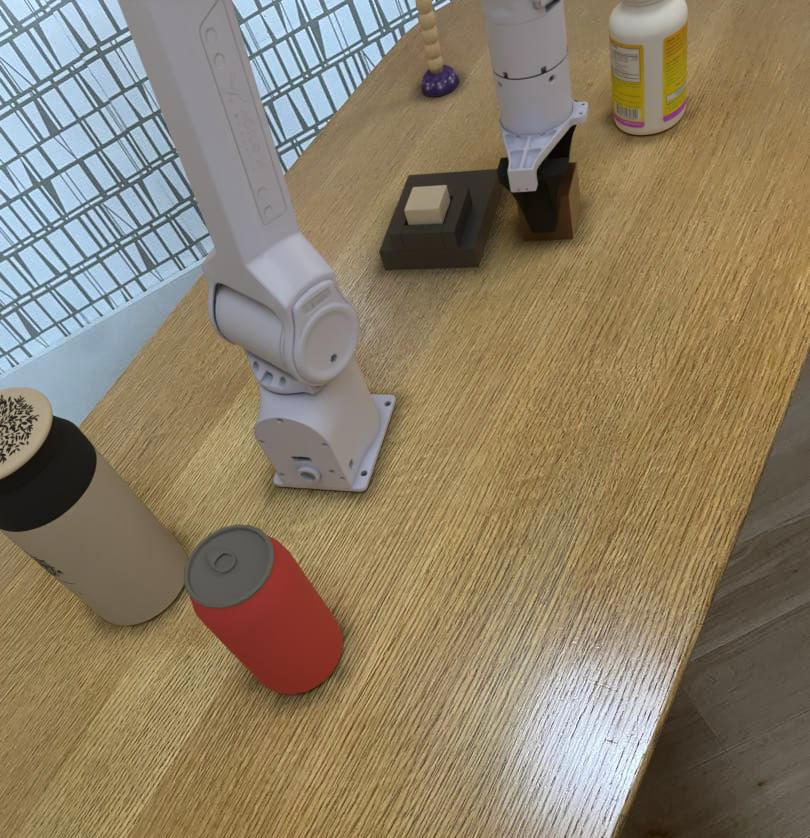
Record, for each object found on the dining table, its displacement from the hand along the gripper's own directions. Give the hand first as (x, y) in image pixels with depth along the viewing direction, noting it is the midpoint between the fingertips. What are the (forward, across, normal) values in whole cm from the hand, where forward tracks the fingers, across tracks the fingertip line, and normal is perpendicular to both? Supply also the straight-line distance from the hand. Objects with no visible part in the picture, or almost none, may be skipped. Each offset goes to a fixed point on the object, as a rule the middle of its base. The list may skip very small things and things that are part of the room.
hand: (549, 211), depth 74 cm
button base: (+1, 0, +10) cm, 10 cm away
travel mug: (+2, -40, +25) cm, 47 cm away
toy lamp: (+2, +24, +16) cm, 29 cm away
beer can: (+2, -44, +10) cm, 45 cm away
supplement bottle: (+2, +15, -7) cm, 17 cm away
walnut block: (+1, 0, 0) cm, 1 cm away
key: (-2, -2, +10) cm, 11 cm away
